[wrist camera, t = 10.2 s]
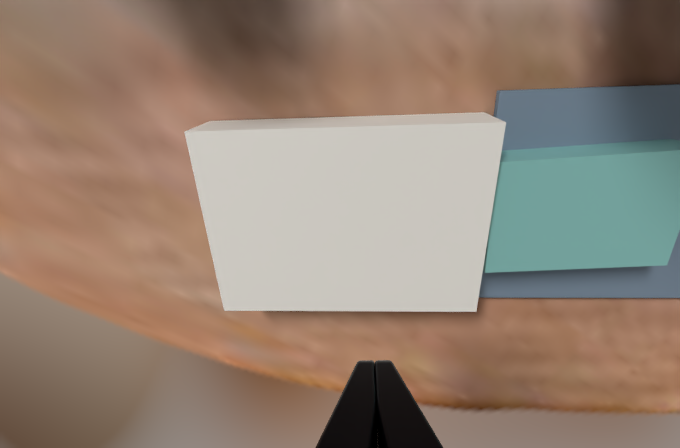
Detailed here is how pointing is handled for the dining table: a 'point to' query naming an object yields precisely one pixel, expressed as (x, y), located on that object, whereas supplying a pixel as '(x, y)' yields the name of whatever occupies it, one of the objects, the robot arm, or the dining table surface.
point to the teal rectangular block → (585, 207)
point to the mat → (585, 129)
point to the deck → (348, 210)
